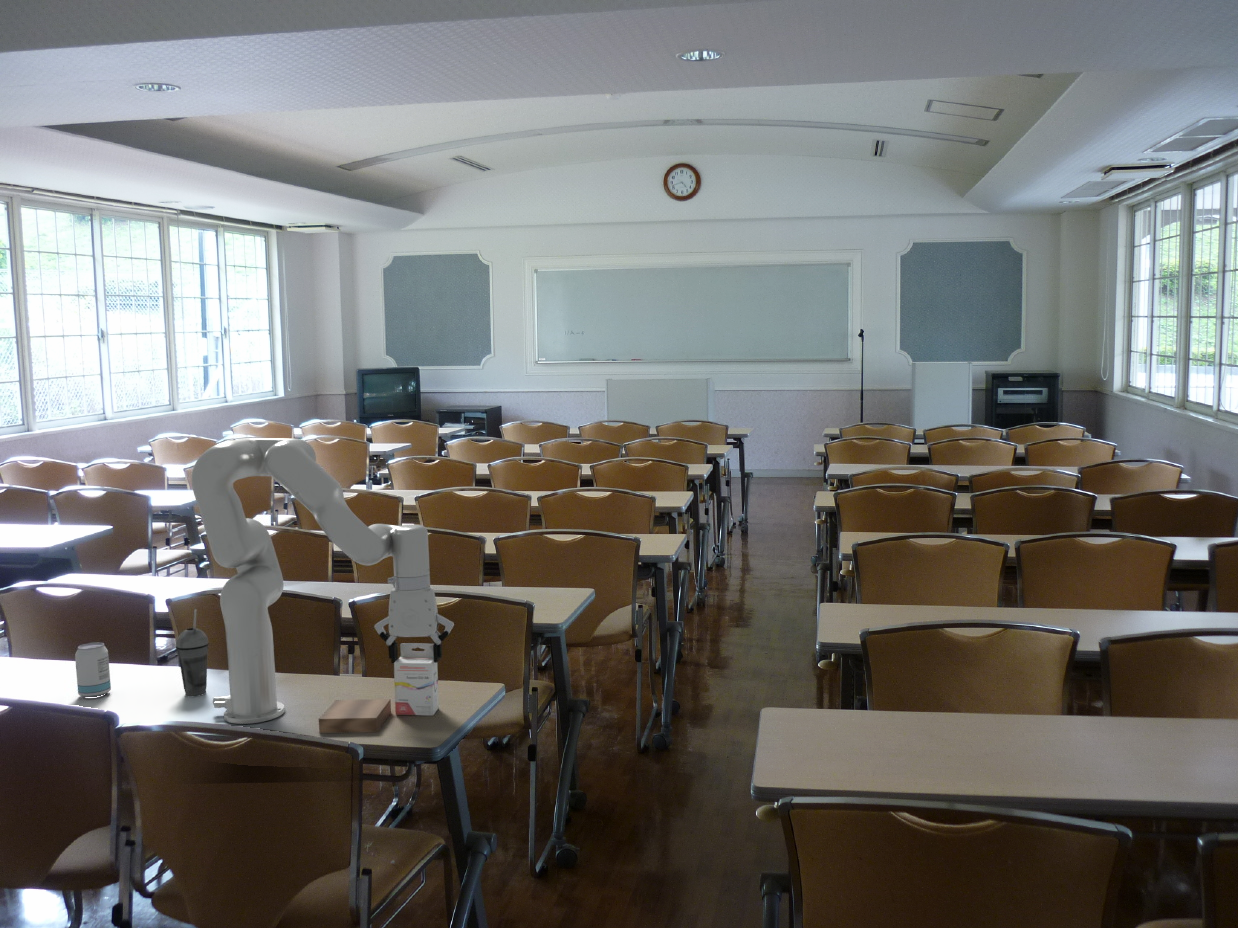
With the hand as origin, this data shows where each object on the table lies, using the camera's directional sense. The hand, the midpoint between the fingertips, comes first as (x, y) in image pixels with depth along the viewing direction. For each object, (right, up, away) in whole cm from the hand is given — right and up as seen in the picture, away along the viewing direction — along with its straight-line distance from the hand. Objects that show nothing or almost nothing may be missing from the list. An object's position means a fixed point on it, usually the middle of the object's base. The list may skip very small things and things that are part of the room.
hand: (415, 661), depth 228 cm
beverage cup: (-55, -11, +19) cm, 59 cm away
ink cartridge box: (0, -11, +1) cm, 12 cm away
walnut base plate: (-12, -12, -4) cm, 18 cm away
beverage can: (-79, -12, +20) cm, 82 cm away
